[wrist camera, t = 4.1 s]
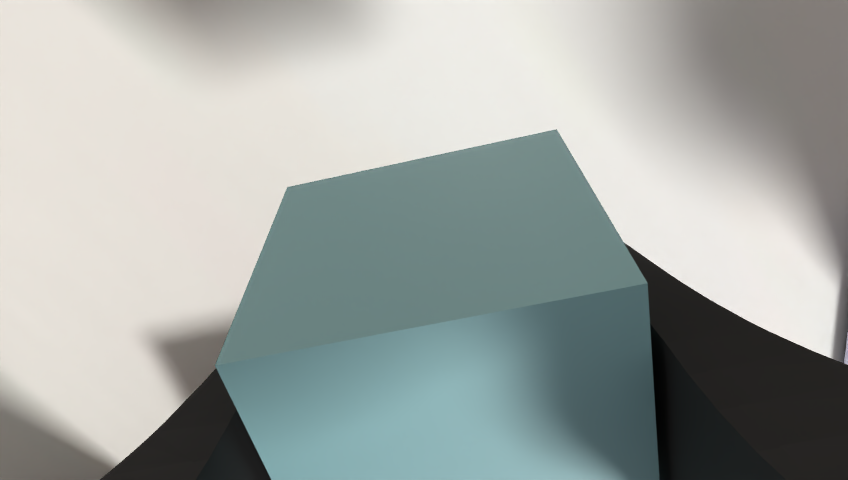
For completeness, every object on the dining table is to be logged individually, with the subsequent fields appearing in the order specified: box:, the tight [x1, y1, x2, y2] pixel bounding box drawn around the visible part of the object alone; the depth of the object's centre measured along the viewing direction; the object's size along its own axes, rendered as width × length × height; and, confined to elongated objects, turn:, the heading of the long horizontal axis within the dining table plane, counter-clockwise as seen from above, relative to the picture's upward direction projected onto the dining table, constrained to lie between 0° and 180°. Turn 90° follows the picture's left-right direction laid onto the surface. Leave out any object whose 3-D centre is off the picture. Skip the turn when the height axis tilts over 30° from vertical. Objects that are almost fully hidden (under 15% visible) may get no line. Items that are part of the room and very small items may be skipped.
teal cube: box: [215, 130, 659, 480], centre depth 11 cm, size 5×5×5 cm
